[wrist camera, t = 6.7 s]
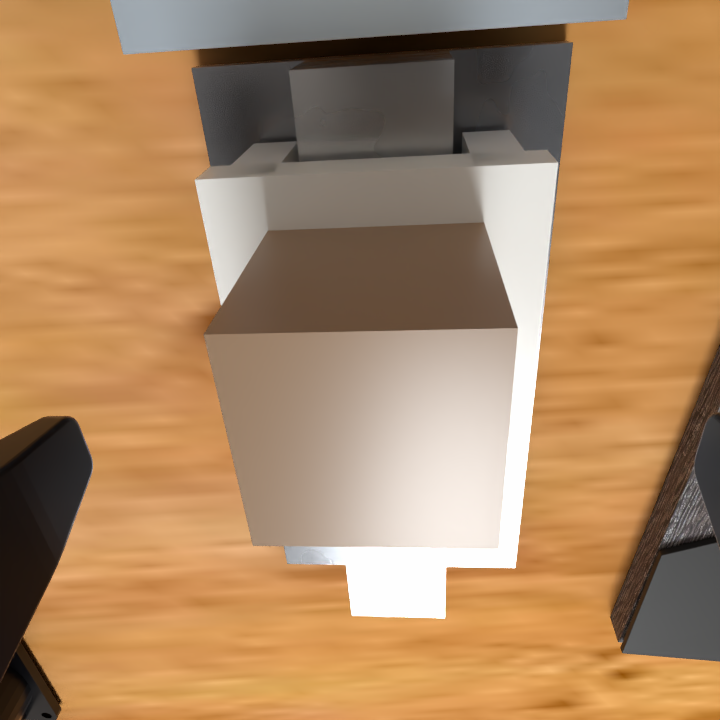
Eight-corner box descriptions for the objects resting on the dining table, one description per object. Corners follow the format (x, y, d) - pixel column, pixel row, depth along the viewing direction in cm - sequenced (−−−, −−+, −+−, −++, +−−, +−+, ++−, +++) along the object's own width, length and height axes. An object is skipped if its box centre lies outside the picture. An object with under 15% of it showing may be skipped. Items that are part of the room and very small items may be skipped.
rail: (512, 553, 21) (524, 620, 19) (290, 550, 22) (276, 613, 19) (566, 40, 12) (599, 49, 10) (200, 64, 13) (156, 78, 11)
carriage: (509, 365, 16) (569, 592, 10) (274, 369, 16) (195, 583, 10) (528, 128, 13) (633, 247, 7) (236, 144, 13) (92, 265, 7)
